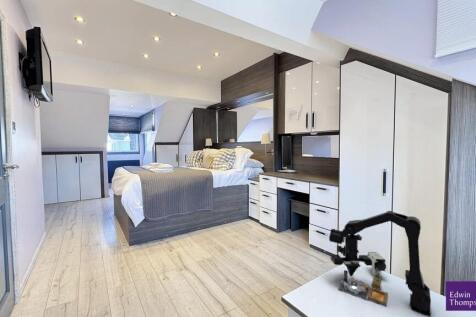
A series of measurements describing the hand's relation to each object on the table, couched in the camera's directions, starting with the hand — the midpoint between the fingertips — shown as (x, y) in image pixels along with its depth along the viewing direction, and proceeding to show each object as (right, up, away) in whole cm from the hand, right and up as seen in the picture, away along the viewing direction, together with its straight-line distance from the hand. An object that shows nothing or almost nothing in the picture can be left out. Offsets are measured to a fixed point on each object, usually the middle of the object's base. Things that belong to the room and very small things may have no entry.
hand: (350, 276), depth 115 cm
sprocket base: (0, -5, -3) cm, 6 cm away
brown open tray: (+8, -5, -10) cm, 14 cm away
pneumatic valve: (+18, -4, +9) cm, 21 cm away
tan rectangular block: (+12, -5, -2) cm, 13 cm away
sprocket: (0, -5, -3) cm, 6 cm away
